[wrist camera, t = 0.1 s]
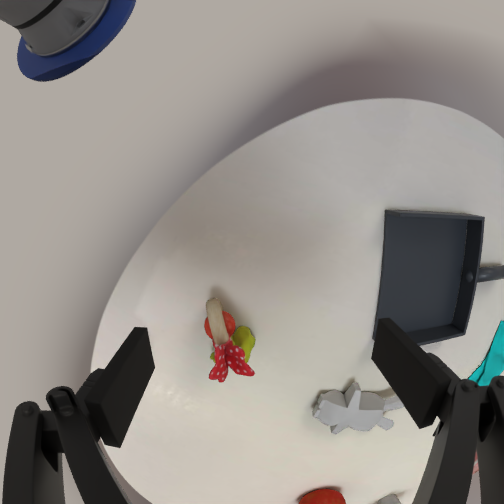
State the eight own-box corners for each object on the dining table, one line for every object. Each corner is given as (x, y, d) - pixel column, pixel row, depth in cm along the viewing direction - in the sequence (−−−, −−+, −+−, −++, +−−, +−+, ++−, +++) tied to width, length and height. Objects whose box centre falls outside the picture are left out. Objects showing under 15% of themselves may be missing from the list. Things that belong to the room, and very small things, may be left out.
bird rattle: (196, 307, 38) (217, 371, 36) (163, 308, 27) (193, 396, 25) (240, 293, 37) (262, 359, 36) (223, 288, 26) (255, 380, 25)
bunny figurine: (331, 391, 34) (418, 400, 34) (326, 371, 39) (407, 382, 39) (307, 436, 36) (389, 442, 36) (305, 415, 41) (382, 423, 41)
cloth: (470, 412, 44) (475, 417, 41) (443, 407, 42) (448, 413, 40) (530, 317, 39) (536, 320, 37) (512, 297, 37) (519, 301, 35)
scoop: (372, 338, 37) (383, 352, 33) (385, 209, 33) (400, 212, 29) (490, 315, 38) (503, 323, 34) (505, 216, 34) (521, 220, 30)
